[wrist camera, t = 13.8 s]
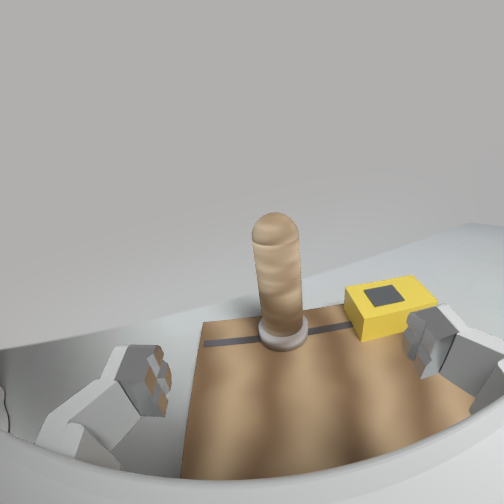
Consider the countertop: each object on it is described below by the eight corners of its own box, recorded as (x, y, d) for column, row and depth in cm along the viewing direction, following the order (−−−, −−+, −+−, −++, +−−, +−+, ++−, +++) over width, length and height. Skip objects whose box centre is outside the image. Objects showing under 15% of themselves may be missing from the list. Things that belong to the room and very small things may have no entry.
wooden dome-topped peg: (261, 354, 26) (242, 227, 21) (259, 323, 31) (243, 209, 25) (311, 347, 26) (309, 219, 21) (303, 317, 30) (297, 203, 25)
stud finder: (360, 342, 25) (364, 317, 24) (343, 308, 31) (345, 285, 30) (432, 323, 25) (438, 299, 24) (408, 295, 31) (412, 273, 30)
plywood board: (188, 491, 15) (179, 483, 14) (206, 334, 33) (202, 321, 32) (487, 417, 14) (497, 404, 13) (405, 303, 32) (408, 290, 32)
